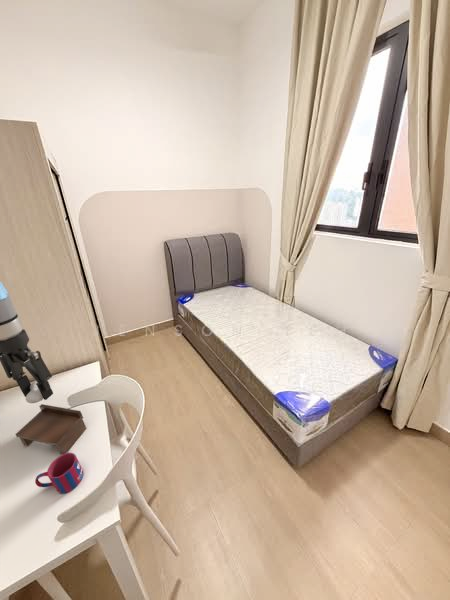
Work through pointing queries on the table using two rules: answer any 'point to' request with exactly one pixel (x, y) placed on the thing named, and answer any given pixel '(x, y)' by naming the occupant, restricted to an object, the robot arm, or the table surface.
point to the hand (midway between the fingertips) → (39, 395)
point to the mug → (63, 473)
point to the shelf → (54, 428)
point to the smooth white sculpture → (34, 394)
